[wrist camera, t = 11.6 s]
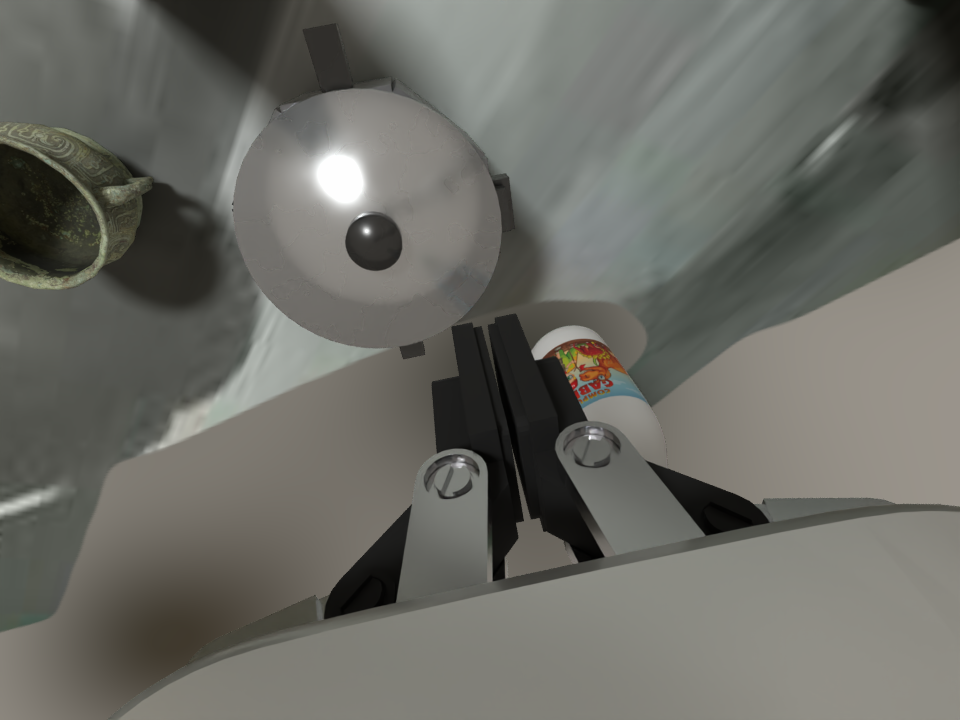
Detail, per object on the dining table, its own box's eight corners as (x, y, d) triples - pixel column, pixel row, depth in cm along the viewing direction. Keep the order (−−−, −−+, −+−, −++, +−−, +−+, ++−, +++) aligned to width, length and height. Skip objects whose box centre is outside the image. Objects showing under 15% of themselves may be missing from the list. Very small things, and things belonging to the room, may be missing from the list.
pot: (465, 6, 29) (488, -7, 22) (504, 292, 40) (528, 344, 33) (218, 52, 28) (160, 54, 21) (329, 329, 39) (315, 390, 32)
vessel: (33, 269, 33) (-34, 310, 28) (-68, 134, 28) (-172, 153, 23) (202, 236, 34) (168, 270, 28) (133, 98, 29) (75, 108, 23)
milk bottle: (620, 343, 45) (752, 515, 28) (570, 400, 48) (663, 586, 31) (559, 308, 41) (667, 480, 25) (509, 372, 45) (578, 562, 28)
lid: (488, 60, 23) (495, 61, 21) (519, 313, 31) (525, 328, 30) (185, 118, 22) (169, 124, 21) (297, 360, 31) (292, 378, 29)
